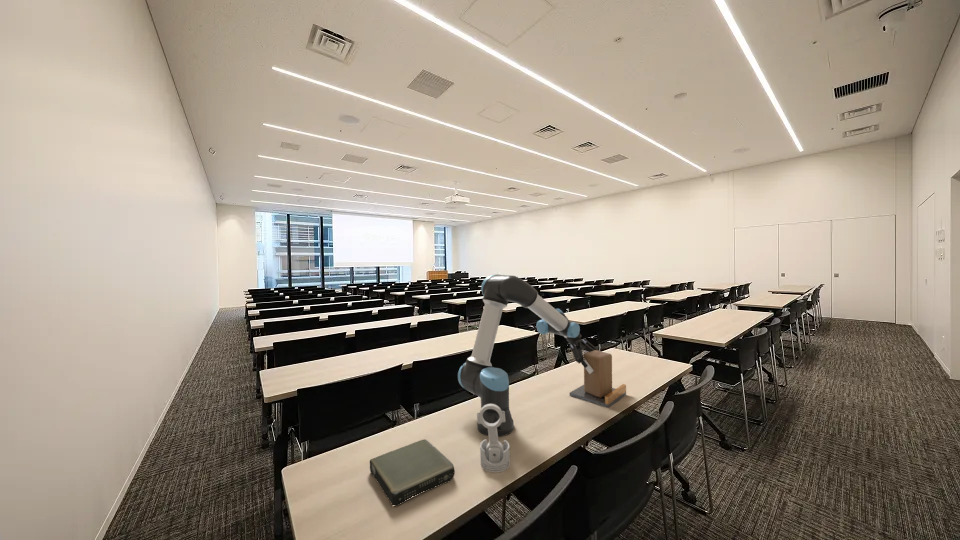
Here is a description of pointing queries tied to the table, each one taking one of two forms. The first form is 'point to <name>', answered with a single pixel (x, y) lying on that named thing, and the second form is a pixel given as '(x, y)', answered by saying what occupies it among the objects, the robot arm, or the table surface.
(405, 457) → the network switch
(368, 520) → the table surface
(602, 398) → the mounting plate
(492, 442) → the engine component
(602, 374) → the wooden block
